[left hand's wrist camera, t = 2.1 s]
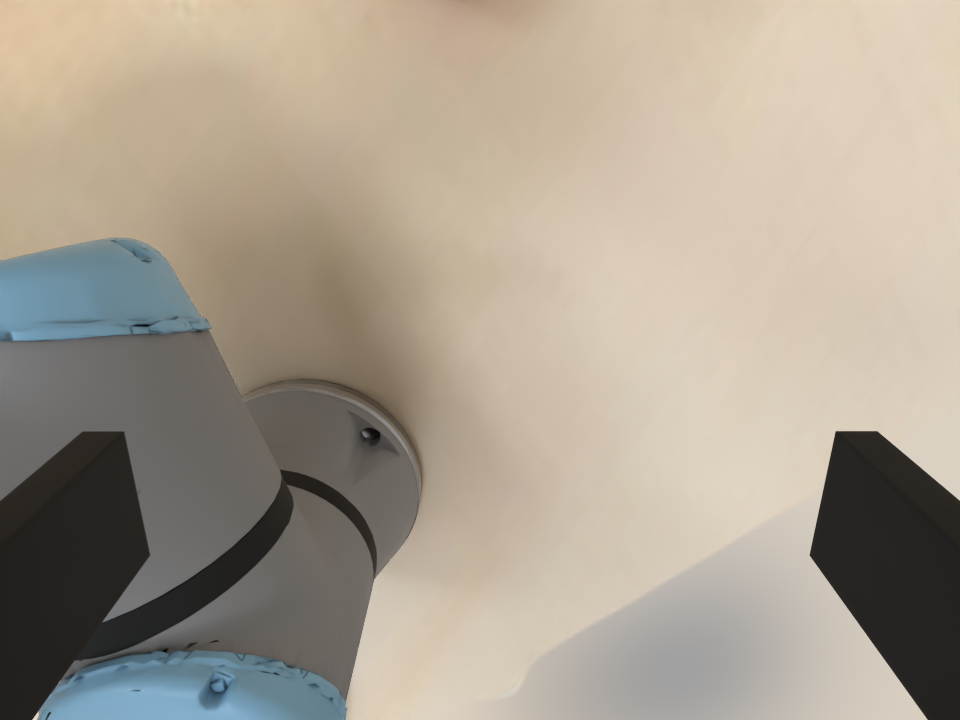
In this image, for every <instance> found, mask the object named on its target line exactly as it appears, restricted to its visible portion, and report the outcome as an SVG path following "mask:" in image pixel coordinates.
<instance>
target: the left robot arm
mask: <svg viewBox="0 0 960 720" xmlns="http://www.w3.org/2000/svg"><path fill="white" fill-rule="evenodd" d="M208 329H211V327H210V324H209V322H208V321H207V319H206V318H203V317H201V316H200V314H199V313H198V311H197V309H196V308H195V306H194V304H193V303H192V301H191V300H190V298H189V296H188V295H187V293H186V291H185V290H184V288H183V286H182V285H181V283H180V281H179V280H178V278H177V276H176V274H175V273H174V271H173V269H172V267H171V266H170V264H169V262H168V261H167V260H166V259H165V257H164V256H163V255H162V254H161V253H160V252H159V251H157V250H156V249H155V248H153V247H151V246H150V245H148V244H146V243H143V242H141V241H137V240H134V239H129V238H109V239H102V240H96V241H91V242H85V243H80V244H75V245H70V246H65V247H60V248H56V249H51V250H46V251H42V252H37V253H33V254H28V255H24V256H19V257H15V258H10V259H6V260H2V261H0V720H32V719H33V718H34V716H35V715H36V714H37V712H38V711H39V717H38V719H37V720H345V718H346V710H347V708H346V707H345V704H346V698H347V694H348V690H349V686H350V681H351V677H352V673H353V668H354V664H355V660H356V656H357V651H358V647H359V643H360V638H361V634H362V630H363V626H364V621H365V617H366V613H367V608H368V604H369V600H370V596H371V591H372V586H373V582H374V579H375V578H376V576H377V575H378V574H379V573H380V571H381V570H382V569H383V568H384V567H385V565H386V564H387V563H388V562H389V560H390V559H391V558H392V557H393V556H394V554H395V553H396V552H397V551H398V550H399V548H400V547H401V546H402V545H403V543H404V542H405V540H406V539H407V537H408V536H409V534H410V532H411V530H412V528H413V525H414V523H415V520H416V516H417V512H418V507H419V501H420V495H421V470H420V465H419V460H418V457H417V454H416V451H415V449H414V447H413V445H412V443H411V441H410V439H409V437H408V436H407V434H406V432H405V431H404V430H403V428H402V427H401V425H400V424H399V423H398V422H397V421H396V420H395V419H394V418H393V417H392V416H391V415H390V414H389V413H388V412H387V411H386V410H385V409H384V408H382V407H381V406H380V405H379V404H377V403H376V402H374V401H373V400H371V399H370V398H368V397H366V396H364V395H362V394H361V393H359V392H356V391H354V390H352V389H349V388H347V387H344V386H341V385H338V384H334V383H329V382H324V381H317V380H289V381H282V382H277V383H273V384H269V385H266V386H263V387H261V388H258V389H256V390H254V391H252V392H250V393H248V394H247V395H245V396H243V397H242V396H241V394H240V392H239V391H238V389H237V387H236V385H235V383H234V381H233V379H232V376H231V374H230V372H229V370H228V368H227V366H226V364H225V362H224V360H223V358H222V356H221V354H220V352H219V350H218V348H217V346H216V344H215V342H214V340H213V338H212V336H211V334H210V332H209V330H208ZM810 556H811V558H812V559H813V561H814V562H815V563H816V565H817V566H818V568H819V569H820V570H821V572H822V573H823V575H824V576H825V577H826V579H827V580H828V581H829V583H830V584H831V586H832V587H833V588H834V590H835V591H836V593H837V594H838V595H839V597H840V598H841V600H842V601H843V602H844V604H845V605H846V606H847V608H848V609H849V611H850V612H851V614H852V615H853V616H854V618H855V619H856V620H857V622H858V623H859V625H860V626H861V627H862V629H863V630H864V632H865V633H866V634H867V636H868V637H869V639H870V640H871V641H872V643H873V644H874V646H875V647H876V648H877V650H878V651H879V652H880V654H881V655H882V656H883V658H884V659H885V661H886V662H887V664H888V665H889V666H890V668H891V669H892V670H893V672H894V673H895V675H896V676H897V677H898V679H899V680H900V682H901V683H902V684H903V686H904V687H905V689H906V690H907V691H908V693H909V694H910V696H911V697H912V698H913V700H914V701H915V703H916V704H917V705H918V707H919V708H920V709H921V711H922V712H923V714H924V715H925V716H926V718H927V719H928V720H960V501H959V500H958V499H957V498H956V497H955V496H953V495H952V494H951V493H950V492H949V491H947V490H946V489H945V488H944V487H943V486H942V485H940V484H939V483H938V482H937V481H936V480H934V479H933V478H932V477H931V476H930V475H928V474H927V473H926V472H925V471H924V470H923V469H921V468H920V467H919V466H918V465H917V464H915V463H914V462H913V461H912V460H911V459H910V458H908V457H907V456H906V455H905V454H904V453H902V452H901V451H900V450H899V449H898V448H896V447H895V446H894V445H893V444H892V443H891V442H889V441H888V440H887V439H886V438H885V437H883V436H882V435H881V434H880V433H879V432H877V431H836V433H835V438H834V442H833V447H832V452H831V457H830V461H829V466H828V471H827V476H826V480H825V485H824V490H823V495H822V499H821V504H820V509H819V513H818V518H817V523H816V528H815V532H814V537H813V542H812V547H811V551H810ZM60 680H61V682H60ZM59 682H60V683H59ZM58 683H59V684H58Z"/></svg>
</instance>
